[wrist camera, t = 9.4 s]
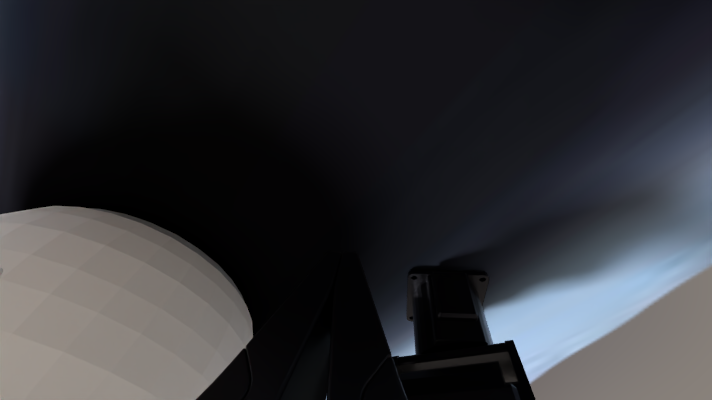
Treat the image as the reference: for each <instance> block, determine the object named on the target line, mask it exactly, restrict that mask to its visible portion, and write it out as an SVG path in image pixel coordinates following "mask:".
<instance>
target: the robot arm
mask: <svg viewBox="0 0 712 400" xmlns="http://www.w3.org/2000/svg"><path fill="white" fill-rule="evenodd" d="M488 282H489V277H488V274H487V273H486V272H476V271H433V270H411V271H409V272H408V287H407V320H409V321H413V322H414V336H415V351H416V355H411V356H404V357H399V356H394V357H391V352H390V349H389V346H388V343H387V340H386V337H385V334H384V331H383V328H382V325H381V322H380V319H379V316H378V313H377V310H376V307H375V304H374V301H373V298H372V295H371V292H370V289H369V286H368V283H367V280H366V277H365V274H364V271H363V268H362V265H361V262H360V259H359V256H358V253H357V252H347V251H345V252H343V253H342V252H341V251H329V252H327V253H326V254H325V255H324V257H323V258H322V259H321V260H320V261H319V262H318V263H317V265H316V266H315V267H314V268H313V269H312V270H311V272H310V273H309V274H308V275H307V276H306V277H305V278H304V280H303V281H302V282H301V283H300V284H299V285H298V286H297V288H296V289H295V290H294V291H293V292H292V293H291V294H290V296H289V297H288V298H287V299H286V300H285V301H284V302H283V304H282V305H281V306H280V307H279V308H278V309H277V310H276V312H275V313H274V314H273V315H272V316H271V317H270V318H269V320H268V321H267V322H266V323H265V324H264V325H263V327H262V328H261V329H260V330H259V331H258V332H257V333H256V335H255V336H254V337H253V338H252V339H251V340H250V341H249V343H248V344H247V345H246V349H245V348H243V349H242V350H241V352H240V353H239V354H238V355H237V356H236V357H235V358H234V360H233V361H232V362H231V363H230V364H229V365H228V366H227V367H226V368H225V369H224V371H223V372H222V373H221V374H220V375H219V376H218V377H217V378H216V379H215V380H214V382H213V383H212V384H211V385H210V386H209V387H208V388H207V389H206V390H205V391H204V392H203V393H202V394H201V395H200V396H199V397H198V398H197V399H196V400H326V396H327V400H535V397H534V394H533V392H532V389H531V386H530V384H529V381H528V378H527V376H526V373H525V371H524V368H523V365H522V363H521V360H520V357H519V355H518V352H517V349H516V347H515V344H514V342H513V340H510V341H505V343H499V344H493V342H492V338H491V335H490V331H489V328H488V325H487V321H486V318H485V315H484V311H483V308H482V306H483V302H484V298H485V294H486V290H487V286H488Z"/></svg>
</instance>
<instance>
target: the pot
mask: <svg viewBox="0 0 712 400" xmlns="http://www.w3.org/2000/svg"><path fill="white" fill-rule="evenodd" d="M252 338H253V330H252V319H251V317H250V314H249V311H248V308H247V306H246V304H245V302H244V300H243V297H242V295H241V293H240V291H239V290H238V288H237V287H236V285H235V284H234V282H233V280H232V279H231V278H230V277H229V276H228V275H227V274H226V273H225V272H224V270H223V269H222V268H221V267H220V266H219V265H218V264H217V263H216V262H214V261H213V260H212V259H211V258H210V257H208V256H207V255H206V254H205V253H204V252H202V251H201V250H200V249H198V248H197V247H195V246H194V245H192V244H191V243H189V242H187V241H186V240H184V239H183V238H181V237H179V236H178V235H176V234H174V233H172V232H170V231H168V230H166V229H163V228H161V227H159V226H157V225H155V224H153V223H151V222H148V221H145V220H142V219H139V218H136V217H133V216H130V215H127V214H123V213H118V212H113V211H108V210H103V209H94V208H83V207H69V206H49V207H42V208H36V209H30V210H24V211H18V212H12V213H6V214H0V400H196V399H197V398H198V397H199V396H200V395H201V394H202V393H203V392H204V391H205V390H206V389H207V388H208V387H209V386H210V385H211V384H212V383H213V382H214V380H215V379H216V378H217V377H218V376H219V375H220V374H221V373H222V372H223V371H224V369H225V368H226V367H227V366H228V365H229V364H230V363H231V362H232V361H233V360H234V358H235V357H236V356H237V355H238V354H239V353H240V352H241V350H242V349H243V348H245V349H246V345H247V344H248V343H249V341H250V340H251V339H252Z"/></svg>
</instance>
